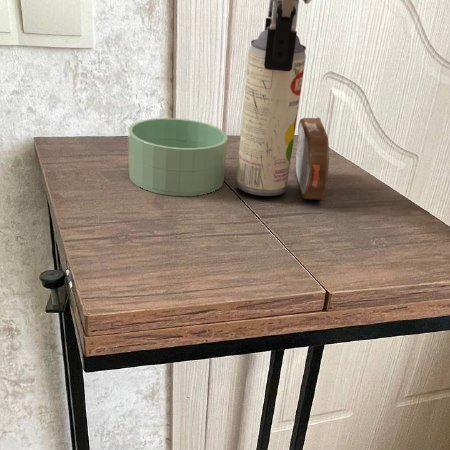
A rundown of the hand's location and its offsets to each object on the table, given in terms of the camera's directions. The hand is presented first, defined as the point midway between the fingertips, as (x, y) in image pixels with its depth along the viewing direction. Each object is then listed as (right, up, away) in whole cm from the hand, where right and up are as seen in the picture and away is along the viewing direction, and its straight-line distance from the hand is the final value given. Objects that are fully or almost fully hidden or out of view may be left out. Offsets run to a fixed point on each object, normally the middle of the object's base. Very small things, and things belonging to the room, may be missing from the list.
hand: (276, 61), depth 75 cm
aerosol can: (-1, -12, +10) cm, 15 cm away
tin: (+5, -11, +13) cm, 18 cm away
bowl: (-13, -10, +11) cm, 20 cm away
